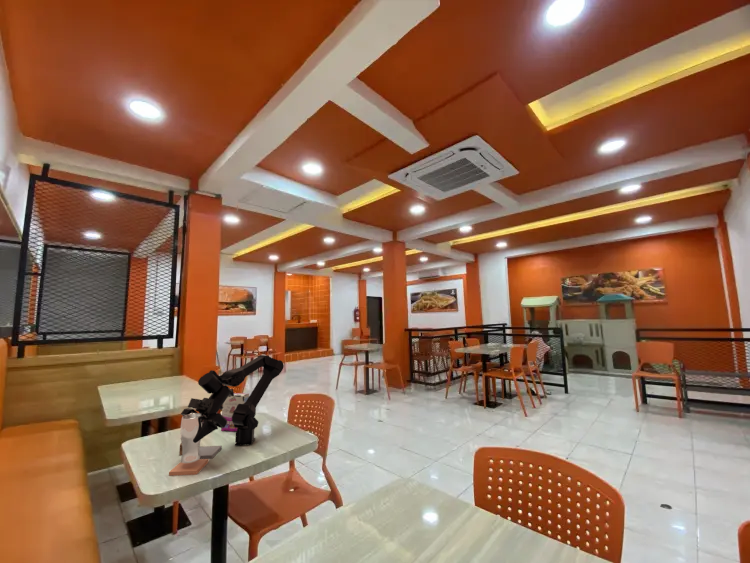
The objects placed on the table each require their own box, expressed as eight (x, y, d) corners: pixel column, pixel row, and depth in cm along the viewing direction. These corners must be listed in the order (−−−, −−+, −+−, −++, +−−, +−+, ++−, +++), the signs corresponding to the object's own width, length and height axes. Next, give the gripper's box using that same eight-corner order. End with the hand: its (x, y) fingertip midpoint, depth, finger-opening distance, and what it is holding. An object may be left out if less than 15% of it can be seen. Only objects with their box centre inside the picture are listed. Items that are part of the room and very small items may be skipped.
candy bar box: (248, 428, 150) (249, 393, 152) (242, 432, 146) (243, 395, 147) (227, 427, 152) (228, 392, 154) (220, 431, 147) (222, 394, 149)
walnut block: (193, 450, 127) (193, 439, 127) (190, 454, 123) (191, 443, 124) (181, 451, 126) (182, 441, 126) (179, 455, 122) (179, 444, 122)
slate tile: (221, 448, 128) (221, 445, 128) (212, 458, 119) (212, 455, 119) (198, 449, 127) (198, 446, 127) (187, 459, 118) (187, 456, 118)
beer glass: (174, 464, 108) (176, 419, 110) (187, 455, 115) (189, 412, 117) (194, 464, 108) (195, 419, 109) (206, 455, 115) (207, 412, 116)
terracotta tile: (208, 462, 116) (208, 458, 116) (196, 474, 107) (196, 470, 107) (182, 463, 115) (183, 459, 115) (168, 475, 106) (169, 471, 106)
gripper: (186, 386, 121) (155, 425, 110) (221, 390, 114) (191, 433, 103) (204, 402, 128) (176, 440, 117) (238, 407, 120) (211, 449, 109)
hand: (187, 440), depth 111 cm, fingers closed on beer glass, 6 cm apart
